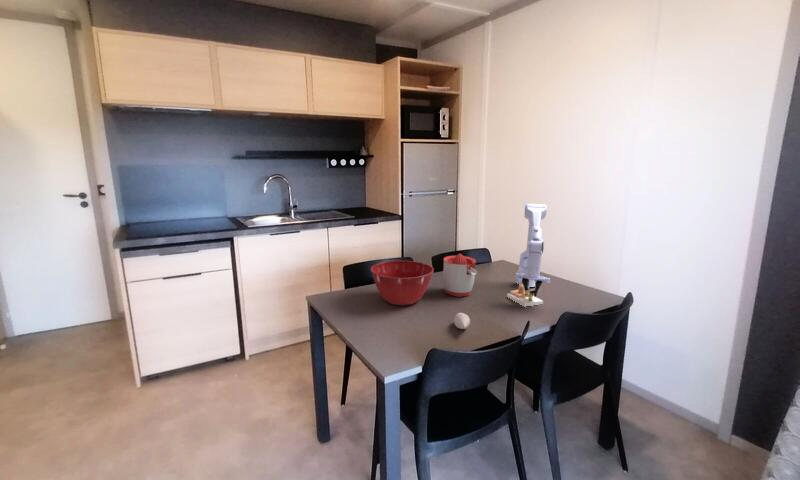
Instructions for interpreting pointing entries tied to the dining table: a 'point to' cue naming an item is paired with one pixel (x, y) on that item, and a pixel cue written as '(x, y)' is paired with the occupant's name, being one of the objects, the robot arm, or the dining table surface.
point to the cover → (519, 292)
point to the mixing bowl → (402, 280)
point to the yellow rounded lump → (529, 294)
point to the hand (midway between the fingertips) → (530, 295)
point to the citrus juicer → (459, 275)
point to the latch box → (525, 300)
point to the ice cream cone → (461, 321)
